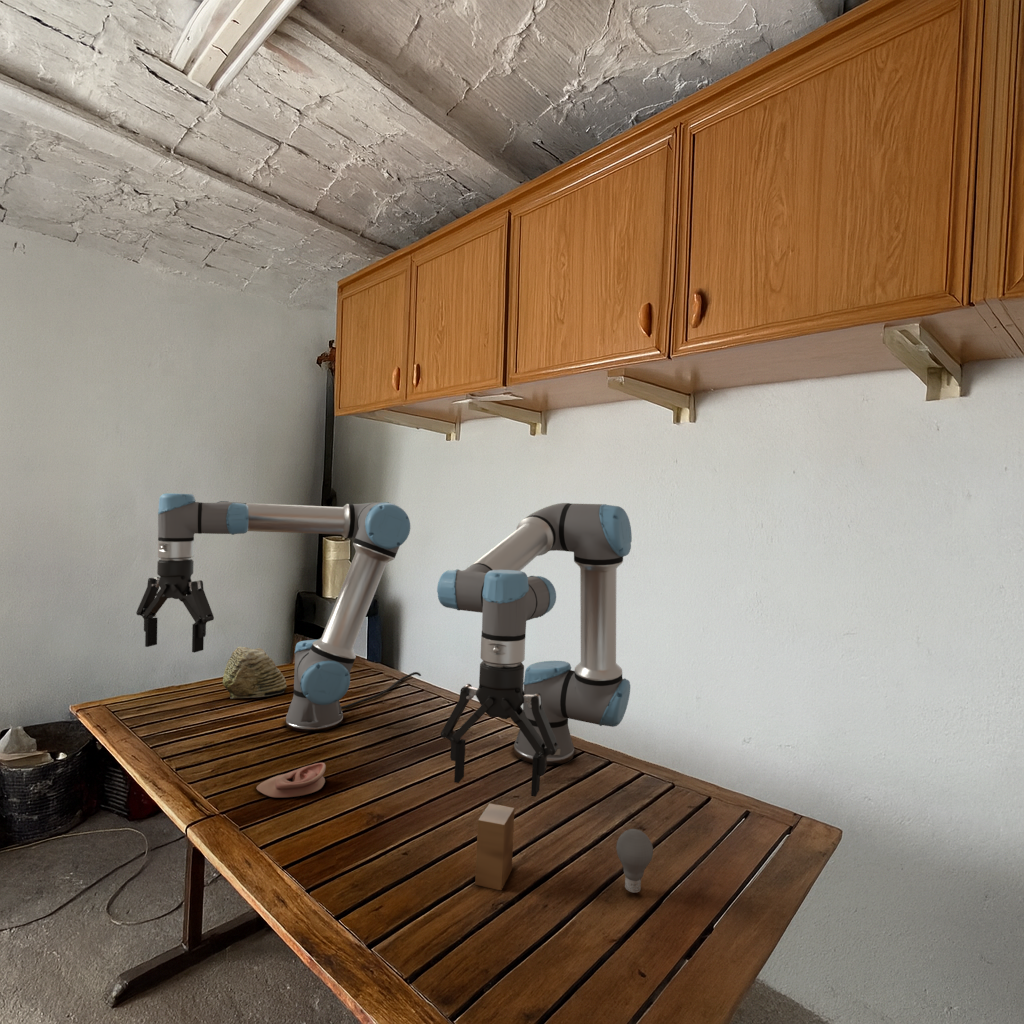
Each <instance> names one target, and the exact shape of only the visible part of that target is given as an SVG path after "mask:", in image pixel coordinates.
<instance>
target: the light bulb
mask: <svg viewBox="0 0 1024 1024" xmlns="http://www.w3.org/2000/svg"><path fill="white" fill-rule="evenodd" d="M615 849H616V854H617V857H618V859H619V861H620V863H621V865H622V867H623V873H624V874H623V875H624V876H625V878H624V888H625V890H627V891H628V892H630V893H634V894H635V893H639V892H640V891H641V889H642V887H641V886H642V879H643V877H644V875H645V871H646V868H647V867H648V866H649V864H650V863H651V861H652V859H653V855H654V847H653V843H652V841H651V838H649V836H648V835H647V834H646V833H645V832H643V831H642V830H641V829H636V828H629V829H627V830H625V831H623V832H622V833H621V834H620V835H619V837H618V839H617V841H616V847H615Z"/></svg>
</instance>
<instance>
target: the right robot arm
mask: <svg viewBox="0 0 1024 1024" xmlns="http://www.w3.org/2000/svg"><path fill="white" fill-rule="evenodd" d="M632 534H633V533H632V526H631V522H630V518H629V516H628V513H627V512H626V510H625V509H624V508H623V507H621V506H619V505H611V504H606V503H570V502H561V503H555V504H550V505H548V506H545V507H543V508H540V509H538V510H536V511H534V512H532V513H530V514H529V515H527V516H526V517H524V518H523V519H522V520H520V521H519V523H518V524H517V526H516V529H515V530H514V531H513V532H511V534H509V535H508V536H507V537H505V538H504V539H503V540H501V541H500V542H499V543H498V544H496V545H495V546H494V547H492V548H491V549H490V550H489V551H487V552H486V553H485V554H484V555H482V556H481V557H480V558H478V559H477V560H476V561H474V562H473V563H472V564H470V566H469V567H468V566H467V567H466V569H463V570H460V569H458V568H457V569H448V570H447V569H446V570H445V571H444V572H443V573H442V574H441V575H440V577H439V580H438V583H437V587H436V592H437V597H438V601H439V603H440V604H441V605H442V606H443V607H444V608H448V609H454V610H456V611H466V612H474V613H481V614H482V617H481V618H482V619H481V620H482V621H481V635H480V636H481V637H480V659H481V660H482V661H481V662H480V664H479V675H478V676H479V677H478V680H479V681H478V687H474V686H472V684H470V683H467V684H465V685H464V686H462V687H461V688H460V692H459V698H458V700H457V703H456V705H455V706H454V708H453V710H452V712H451V714H450V715H449V717H448V719H447V721H446V722H445V724H444V726H443V728H442V730H441V732H440V737H441V738H442V739H446V740H449V742H450V755H449V756H450V761H452V762H454V777H453V778H454V781H453V782H454V783H456V784H459V783H460V782H461V781H462V779H464V777H465V761H466V760H465V759H466V757H465V756H466V741H467V740H466V739H464V738H463V739H462V737H463V736H464V735H465V734H466V733H467V732H468V731H469V730H470V729H471V728H472V727H473V726H474V725H475V724H476V722H478V721H479V719H480V718H482V717H483V715H485V714H486V715H487V716H489V718H500V719H502V720H508V719H511V720H512V722H513V724H514V725H516V726H517V728H518V729H519V730H518V732H517V736H516V737H515V738H516V739H515V741H514V743H513V745H514V746H513V753H514V755H515V756H516V757H517V758H518V759H520V760H521V761H524V762H526V763H529V764H532V769H531V771H532V772H531V787H530V788H531V790H530V791H531V792H530V796H531V797H534V798H536V797H537V795H538V793H539V791H540V787H541V777H542V776H544V775H545V773H546V771H547V766H556V765H557V766H558V765H563V764H565V763H568V762H570V761H572V760H573V759H574V756H575V746H574V744H573V740H572V736H571V732H570V728H569V720H574V721H579V722H584V723H588V724H594V725H599V726H600V727H602V726H604V727H611V728H615V727H617V726H619V725H620V724H621V722H622V721H623V719H624V716H625V714H626V711H627V708H628V705H629V701H630V695H631V682H630V680H629V679H627V678H626V677H624V678H623V668H622V667H621V666H620V665H619V664H618V663H617V577H618V576H617V571H618V570H617V569H618V568H619V567H620V566H621V565H622V564H623V563H624V557H626V556H628V555H629V554H630V552H631V549H632V541H633V540H632V539H633V538H632ZM553 551H559V552H569V553H573V562H574V563H575V564H576V565H577V566H578V568H579V570H580V571H579V572H580V573H579V574H580V575H579V576H580V577H579V579H580V581H579V583H580V584H579V585H580V587H579V588H580V591H579V593H580V595H579V596H580V600H579V601H580V605H579V606H580V662H579V663H578V664H577V665H575V666H574V670H573V669H572V666H571V665H572V664H571V663H569V662H567V661H564V660H544V661H538V662H534V663H532V664H529V665H528V666H527V667H526V668H525V665H524V664H523V662H524V661H525V658H526V631H527V622H528V621H530V620H533V619H538V618H542V617H544V616H545V615H546V614H548V613H549V612H551V611H552V609H553V608H554V606H555V604H556V603H557V591H556V588H555V586H554V584H553V583H552V582H551V580H550V579H548V578H546V577H544V576H542V575H529V576H528V575H527V573H526V572H524V571H523V569H524V568H526V566H528V565H529V564H530V563H531V562H533V560H535V558H537V557H540V556H543V555H545V554H547V553H549V552H553ZM475 697H476V699H477V700H478V702H479V704H480V706H479V707H478V708H477V709H476V710H475V712H474V713H472V714H471V716H470V717H469V718H468V719H467V720H466V721H465V722H464V723H463V724H462V725H461V726H460V727H459V728H458V729H457V730H454V729H455V727H456V725H457V723H458V722H459V720H460V718H461V717H462V715H463V712H464V711H465V710H466V707H467V706H468V705H469V701H471V700H472V699H474V698H475Z"/></svg>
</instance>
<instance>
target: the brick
mask: <svg viewBox="0 0 1024 1024" xmlns="http://www.w3.org/2000/svg"><path fill="white" fill-rule="evenodd" d="M514 827H515V807H511V806H506V805H500V804H494V803H490V802H489V803H488V805H487V806H486V808H485V809H484V810H483V812H482V814H481V815H480V817H478V819H477V831H476V832H477V834H476V857H475V879H474V885H475V886H479V887H482V888H483V887H484V888H488V889H493V890H497V891H503V888H504V886H505V884H506V882H507V881H508V878H509V876H510V874H511V872H512V870H513V852H514V851H513V850H514V829H515V828H514Z"/></svg>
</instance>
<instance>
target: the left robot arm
mask: <svg viewBox="0 0 1024 1024" xmlns="http://www.w3.org/2000/svg"><path fill="white" fill-rule="evenodd" d="M248 532H257V533H258V532H259V533H260V532H261V533H263V532H264V533H291V534H322V535H341V536H342V537H344V539H354V540H353V542H352V546H353V547H354V549H355V553H354V556H353V558H352V561H351V563H350V565H349V568H348V571H347V572H346V575H345V578H344V580H343V583H342V585H341V588H340V590H339V593H338V595H337V598H336V600H335V602H334V605H333V608H332V610H331V613H330V615H329V618H328V620H327V622H326V625H325V627H324V630H323V633H322V635H321V637H320V638H318V639H307V640H301V641H298V642H297V643H296V644H295V648H294V649H295V650H294V672H293V673H294V674H293V675H294V676H293V678H294V679H293V695H292V696H293V697H292V699H291V702H290V704H289V706H288V711H287V713H286V715H285V726H286V728H287V729H289V730H291V731H294V732H295V731H296V732H301V733H316V732H325V731H329V730H332V729H335V728H337V727H339V726H340V725H342V723H343V722H344V714H343V710H344V709H349V708H350V707H353V706H356V705H359V704H362V703H364V702H367V701H370V700H373V699H376V698H378V697H381V696H383V695H384V694H386V693H388V692H389V691H391V690H392V689H394V687H395V686H397V685H399V683H401V682H403V681H404V680H405V679H409V678H410V677H412V676H414V675H415V676H419V677H421V676H422V674H421V673H420V672H419V671H414V672H411V673H409V674H407V675H405V676H403V677H400V678H399V679H398V680H397V681H396V682H395V681H394V683H393V684H392V685H391V686H389V687H388V688H386V689H385V690H383V691H380V692H379V693H377V694H374V695H371V696H368V697H365V698H362V699H359V700H357V701H353V702H351V703H348V704H345V705H341V702H340V700H341V699H342V698H343V697H344V696H346V694H347V692H348V691H349V689H350V684H351V671H352V668H353V666H354V663H355V660H356V658H357V656H356V653H355V650H354V647H355V644H356V642H357V640H358V637H359V634H360V632H361V629H362V627H363V625H364V622H365V619H366V617H367V614H368V612H369V609H370V606H371V604H372V602H373V599H374V596H375V595H376V591H377V589H378V586H379V584H380V582H381V578H382V576H383V574H384V571H385V569H386V566H387V564H388V563H390V562H392V561H394V560H395V558H396V556H397V554H398V551H399V549H400V546H402V545H403V544H404V543H405V542H406V540H408V538H409V535H410V532H411V520H410V517H409V516H408V513H407V512H406V510H404V509H403V508H402V507H401V506H398V505H397V504H396V503H392V502H389V501H384V502H382V501H373V502H367V503H345V505H343V506H325V505H323V506H322V505H303V504H279V503H259V502H258V503H256V502H237V501H227V500H224V501H223V500H220V501H217V502H200V501H196V498H195V494H193V493H170V492H169V493H167V492H166V493H163V494H161V495H160V496H159V498H158V512H157V557H158V559H159V560H157V567H156V569H157V571H156V574H157V576H153V577H148V578H147V586H146V589H145V590H144V594H143V596H142V598H141V600H140V602H139V605H138V607H137V610H136V612H135V613H136V615H137V616H140V617H142V619H143V632H144V633H145V634H144V647H146V648H148V647H152V646H157V645H158V617H157V613H158V612H159V611H160V610H161V608H162V607H163V605H164V604H165V603H166V601H167V600H168V599H174V600H179V602H181V603H183V605H184V606H185V608H186V610H187V612H188V613H189V615H190V616H191V618H192V619H193V621H194V622H193V623H192V627H191V629H192V630H191V631H192V633H191V636H192V641H191V653H199V652H201V651H204V645H205V643H204V640H205V639H204V638H205V637H206V636H207V624H208V623H209V622H211V621H212V622H213V621H214V619H215V616H214V613H213V611H212V608H211V605H210V604H209V601H208V598H207V594H206V592H205V590H204V581H203V580H200V579H199V580H194V581H192V576H193V574H194V562H195V561H194V559H192V558H193V557H194V556H195V554H194V553H195V544H194V543H195V535H196V534H198V535H201V534H209V535H210V534H211V535H240V534H242V535H243V534H246V533H248Z"/></svg>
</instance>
